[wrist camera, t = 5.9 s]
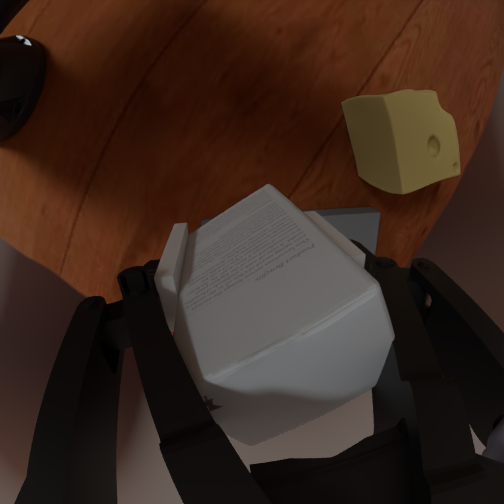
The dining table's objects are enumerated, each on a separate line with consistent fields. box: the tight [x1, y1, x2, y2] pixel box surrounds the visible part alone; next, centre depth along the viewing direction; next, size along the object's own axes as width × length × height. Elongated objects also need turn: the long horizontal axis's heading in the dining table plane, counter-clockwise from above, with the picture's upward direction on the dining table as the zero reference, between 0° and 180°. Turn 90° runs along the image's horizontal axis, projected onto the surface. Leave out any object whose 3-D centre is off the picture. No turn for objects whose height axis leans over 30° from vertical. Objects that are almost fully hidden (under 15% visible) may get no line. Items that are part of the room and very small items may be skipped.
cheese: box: [341, 89, 460, 194], centre depth 26 cm, size 10×11×10 cm
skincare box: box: [173, 184, 395, 445], centre depth 12 cm, size 6×4×12 cm
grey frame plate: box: [201, 207, 380, 255], centre depth 35 cm, size 22×16×4 cm
